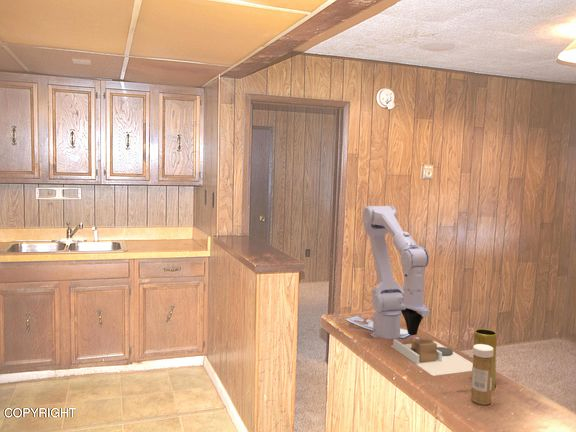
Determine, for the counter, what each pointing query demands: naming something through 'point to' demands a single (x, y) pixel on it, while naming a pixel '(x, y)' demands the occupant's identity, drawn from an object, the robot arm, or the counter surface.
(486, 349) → the sprinkles bottle
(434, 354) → the walnut block
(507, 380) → the counter surface
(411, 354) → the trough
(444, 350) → the coaster
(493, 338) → the vase
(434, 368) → the board
